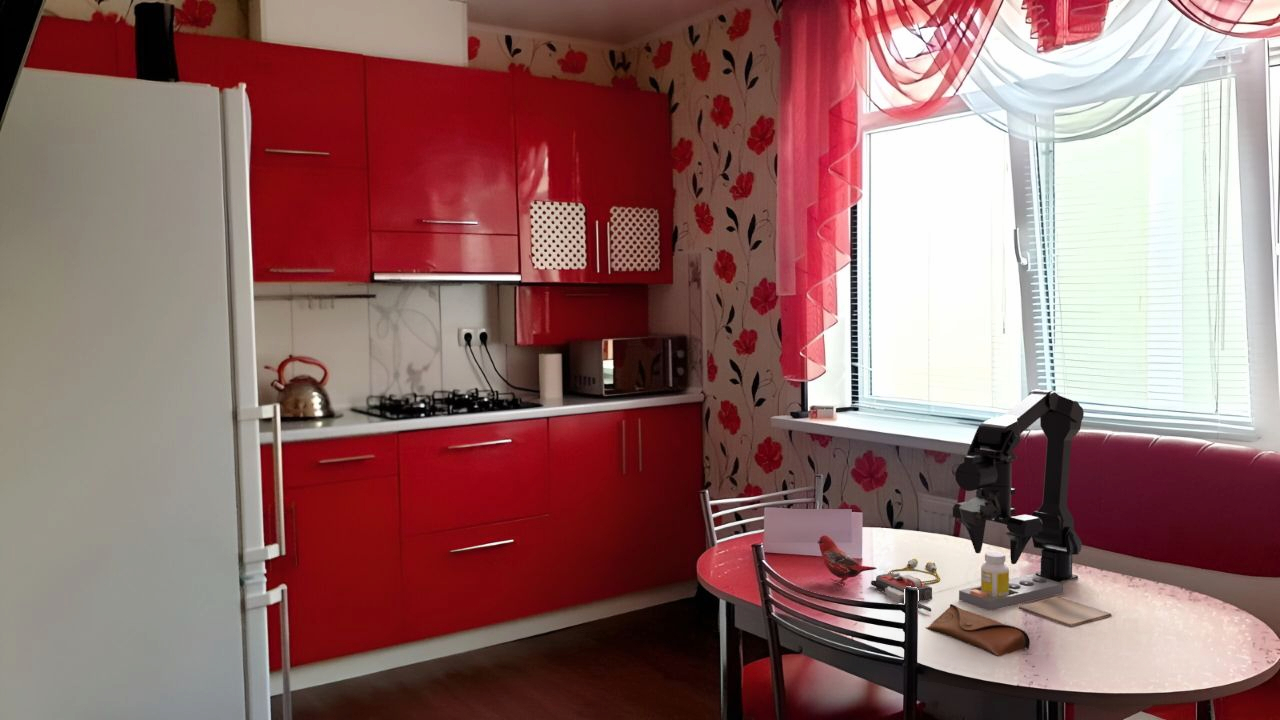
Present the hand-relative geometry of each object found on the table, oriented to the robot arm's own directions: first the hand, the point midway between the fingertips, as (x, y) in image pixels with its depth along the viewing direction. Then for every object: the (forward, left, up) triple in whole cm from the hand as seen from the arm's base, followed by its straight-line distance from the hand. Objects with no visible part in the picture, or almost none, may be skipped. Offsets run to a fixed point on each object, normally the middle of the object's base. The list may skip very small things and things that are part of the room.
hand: (995, 558), depth 197 cm
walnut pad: (-6, +12, -9) cm, 16 cm away
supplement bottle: (0, 0, -9) cm, 9 cm away
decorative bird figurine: (+20, -23, -9) cm, 32 cm away
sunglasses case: (+20, +13, -10) cm, 25 cm away
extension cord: (+1, -21, -10) cm, 23 cm away
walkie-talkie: (+14, -10, -10) cm, 20 cm away
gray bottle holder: (-5, 0, -9) cm, 10 cm away
